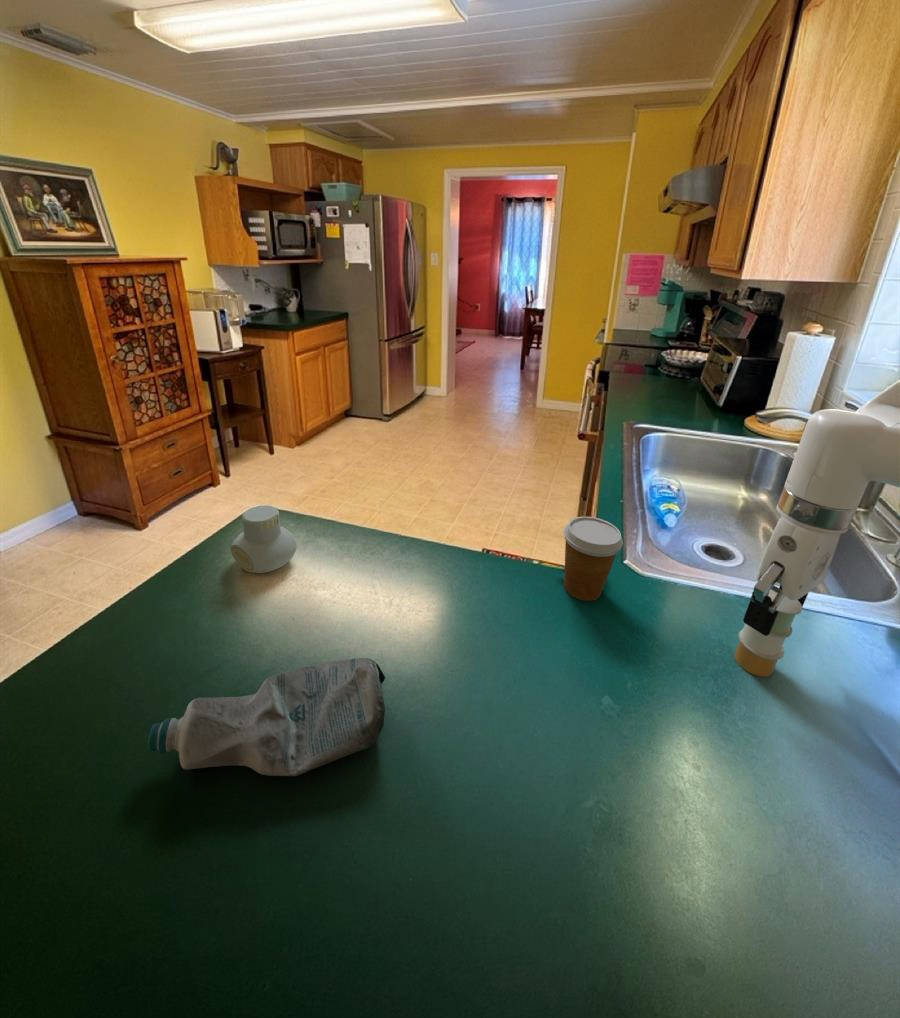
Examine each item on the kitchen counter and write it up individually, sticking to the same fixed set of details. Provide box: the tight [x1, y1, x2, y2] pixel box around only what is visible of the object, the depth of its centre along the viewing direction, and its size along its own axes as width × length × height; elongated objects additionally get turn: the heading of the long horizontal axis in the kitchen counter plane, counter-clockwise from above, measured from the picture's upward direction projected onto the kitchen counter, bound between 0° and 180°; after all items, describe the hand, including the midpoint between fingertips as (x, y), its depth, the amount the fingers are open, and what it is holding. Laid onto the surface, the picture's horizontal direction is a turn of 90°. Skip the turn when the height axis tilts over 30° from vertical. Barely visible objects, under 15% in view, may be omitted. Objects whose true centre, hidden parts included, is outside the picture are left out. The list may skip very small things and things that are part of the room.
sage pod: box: [768, 590, 803, 634], centre depth 65 cm, size 6×6×4 cm
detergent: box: [147, 657, 386, 777], centre depth 53 cm, size 13×7×25 cm
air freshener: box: [230, 504, 298, 574], centre depth 82 cm, size 11×8×10 cm
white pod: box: [741, 623, 793, 656], centre depth 67 cm, size 6×6×4 cm
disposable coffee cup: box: [563, 516, 624, 602], centre depth 80 cm, size 10×10×12 cm
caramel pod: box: [734, 629, 785, 678], centre depth 68 cm, size 6×6×4 cm
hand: (772, 616), depth 66 cm, fingers open, 8 cm apart
